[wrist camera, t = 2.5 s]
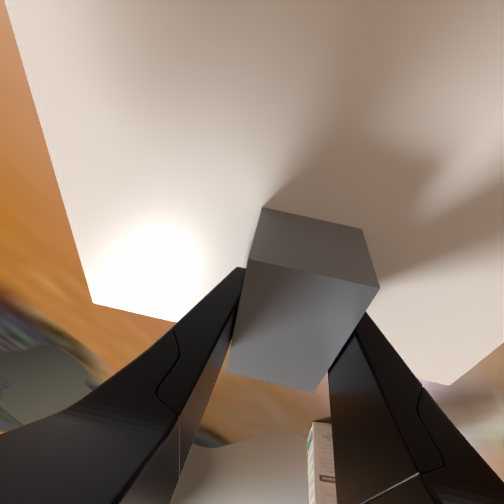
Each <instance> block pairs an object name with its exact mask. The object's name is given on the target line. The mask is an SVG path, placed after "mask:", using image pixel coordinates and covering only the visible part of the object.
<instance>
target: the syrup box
mask: <svg viewBox="0 0 504 504" xmlns="http://www.w3.org/2000/svg"><path fill="white" fill-rule="evenodd" d="M307 462H308V463H307V465H308V504H337V498H336V483H335V469H334V454H333V440H332V426H331V424H329V423H321V422H313V425H312V427H311V430H310V433H309V437H308V441H307Z"/></svg>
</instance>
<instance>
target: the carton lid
mask: <svg viewBox="0 0 504 504" xmlns="http://www.w3.org/2000/svg"><path fill="white" fill-rule="evenodd" d="M4 1H5V4H6V8H7V11H8V14H9V18H10V21H11V25H12V28H13V31H14V35H15V38H16V42H17V45H18V49H19V52H20V55H21V59H22V62H23V66H24V69H25V72H26V76H27V79H28V83H29V86H30V89H31V93H32V96H33V100H34V103H35V107H36V110H37V113H38V117H39V120H40V124H41V127H42V130H43V134H44V137H45V141H46V144H47V147H48V151H49V154H50V158H51V161H52V165H53V168H54V171H55V175H56V178H57V182H58V185H59V188H60V192H61V195H62V199H63V202H64V205H65V209H66V212H67V216H68V219H69V223H70V226H71V229H72V233H73V236H74V240H75V243H76V246H77V250H78V253H79V257H80V260H81V263H82V267H83V270H84V274H85V277H86V281H87V284H88V287H89V291H90V294H91V298H92V301H93V303H95V304H99V305H104V306H108V307H112V308H117V309H121V310H125V311H129V312H134V313H138V314H142V315H147V316H151V317H155V318H160V319H164V320H168V321H173V322H178V321H179V320H180V319H181V318H182V317H183V316H184V315H186V314H187V313H188V312H189V311H190V310H191V309H192V308H193V307H194V306H195V305H196V304H197V303H198V302H199V301H200V300H202V299H203V298H204V297H205V296H206V295H207V294H208V293H209V292H210V291H211V290H212V289H213V288H214V287H215V286H216V285H218V284H219V283H220V282H221V281H222V280H223V279H224V278H225V277H226V276H227V275H228V274H229V273H230V272H231V271H232V270H234V269H235V268H236V267H242V268H246V272H245V277H244V282H243V287H242V292H241V297H240V302H239V307H238V312H237V317H236V322H235V327H234V332H233V337H232V343H231V348H230V353H229V358H228V363H227V368H226V372H228V373H232V374H236V375H240V376H245V377H249V378H253V379H257V380H262V381H266V382H270V383H274V384H279V385H283V386H287V387H291V388H296V389H300V390H304V391H308V392H313V393H314V391H315V389H316V388H317V386H318V385H319V383H320V382H321V380H322V379H323V377H324V375H325V374H326V372H327V371H328V369H329V368H330V366H331V365H332V363H333V361H334V360H335V358H336V357H337V355H338V354H339V352H340V350H341V349H342V347H343V346H344V344H345V343H346V341H347V340H348V338H349V336H350V335H351V333H352V332H353V330H354V329H355V327H356V325H357V324H358V322H359V321H360V319H361V318H362V316H363V315H364V313H365V311H366V312H367V313H368V315H369V316H370V317H371V319H372V320H373V321H374V322H375V324H376V325H377V326H378V328H379V329H380V330H381V332H382V333H383V334H384V336H385V337H386V338H387V340H388V341H389V342H390V343H391V345H392V346H393V347H394V349H395V350H396V351H397V353H398V354H399V355H400V357H401V358H402V359H403V360H404V362H405V363H406V364H407V366H408V367H409V368H410V370H411V371H412V372H413V374H414V375H415V376H416V378H418V379H422V380H426V381H431V382H435V383H439V384H444V385H448V386H450V385H451V384H452V383H453V382H455V381H456V380H457V379H458V378H460V377H461V376H462V375H463V374H465V373H466V372H467V371H468V370H470V369H471V368H472V367H473V366H475V365H476V364H477V363H478V362H480V361H481V360H482V359H483V358H485V357H486V356H487V355H488V354H490V353H491V352H492V351H494V350H495V349H496V348H497V347H499V346H500V345H501V344H502V343H504V0H4Z"/></svg>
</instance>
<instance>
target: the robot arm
mask: <svg viewBox="0 0 504 504" xmlns="http://www.w3.org/2000/svg"><path fill="white" fill-rule="evenodd" d="M245 272H246V268H242V267H236V268H235V269H234V270H232V271H231V272H230V273H229V274H228V275H227V276H226V277H225V278H224V279H223V280H222V281H221V282H220V283H219V284H218V285H216V286H215V287H214V288H213V289H212V290H211V291H210V292H209V293H208V294H207V295H206V296H205V297H204V298H203V299H202V300H200V301H199V302H198V303H197V304H196V305H195V306H194V307H193V308H192V309H191V310H190V311H189V312H188V313H187V314H186V315H184V316H183V317H182V318H181V319H180V320H179V321H178V322H177V323H176V324H175V325H174V326H173V327H172V328H171V329H169V330H168V331H167V332H166V333H165V334H164V335H163V336H162V337H161V338H160V339H159V340H157V341H156V342H155V343H154V344H153V345H152V346H151V347H150V348H148V349H147V350H146V351H145V352H143V353H142V354H141V355H140V356H138V357H137V358H136V359H134V360H133V361H132V362H131V363H129V364H128V365H127V366H125V367H124V368H123V369H121V370H120V371H119V372H117V373H116V374H115V375H113V376H112V377H111V378H109V379H108V380H107V381H105V382H104V383H102V384H101V385H100V386H98V387H97V388H96V389H94V390H93V391H92V392H90V393H89V394H88V395H87V396H85V397H84V398H82V399H81V400H79V401H78V402H76V403H74V404H73V405H71V406H69V407H68V408H66V409H64V410H62V411H60V412H58V413H55V414H53V415H50V416H48V417H45V418H43V419H40V420H37V421H35V422H32V423H29V424H27V425H24V426H21V427H19V428H16V429H13V430H11V431H8V432H6V433H3V434H0V504H170V502H171V499H172V497H173V494H174V491H175V489H176V486H177V483H178V481H179V477H180V475H181V473H182V470H183V467H184V465H185V462H186V459H187V457H188V454H189V451H190V449H191V446H192V444H193V441H194V438H195V436H196V433H197V430H198V428H199V425H200V422H201V420H202V417H203V414H204V412H205V409H206V406H207V404H208V401H209V398H210V396H211V393H212V390H213V388H214V385H215V382H216V380H217V377H218V375H219V372H220V369H221V367H222V364H223V361H224V359H225V356H226V353H227V351H228V348H229V345H230V343H231V340H232V337H233V332H234V327H235V322H236V317H237V312H238V307H239V302H240V297H241V292H242V287H243V282H244V277H245ZM328 382H329V397H330V411H331V426H332V440H333V454H334V469H335V483H336V498H337V504H504V482H503V481H502V480H501V479H500V478H499V477H498V475H497V474H496V473H495V472H494V471H493V470H492V469H491V467H490V466H489V465H488V464H487V463H486V462H485V461H484V459H483V458H482V457H481V456H480V455H479V454H478V453H477V451H476V450H475V449H474V448H473V447H472V446H471V445H470V443H469V442H468V441H467V440H466V439H465V438H464V436H463V435H462V434H461V433H460V432H459V430H458V429H457V428H456V427H455V426H454V425H453V423H452V422H451V421H450V420H449V419H448V417H447V416H446V415H445V414H444V412H443V411H442V410H441V408H440V407H439V406H438V405H437V403H436V402H435V401H434V400H433V398H432V397H431V396H430V394H429V393H428V392H427V390H426V389H425V388H424V387H422V384H421V383H420V381H419V380H418V379H417V378H416V376H415V375H414V374H413V372H412V371H411V370H410V368H409V367H408V366H407V364H406V363H405V362H404V360H403V359H402V358H401V357H400V355H399V354H398V353H397V351H396V350H395V349H394V347H393V346H392V345H391V343H390V342H389V341H388V340H387V338H386V337H385V336H384V334H383V333H382V332H381V330H380V329H379V328H378V326H377V325H376V324H375V322H374V321H373V320H372V319H371V317H370V316H369V315H368V313H367V312H366V311H365V313H364V315H363V316H362V318H361V319H360V321H359V322H358V324H357V325H356V327H355V329H354V330H353V332H352V333H351V335H350V336H349V338H348V340H347V341H346V343H345V344H344V346H343V347H342V349H341V350H340V352H339V354H338V355H337V357H336V358H335V360H334V361H333V363H332V365H331V366H330V368H329V369H328Z"/></svg>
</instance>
